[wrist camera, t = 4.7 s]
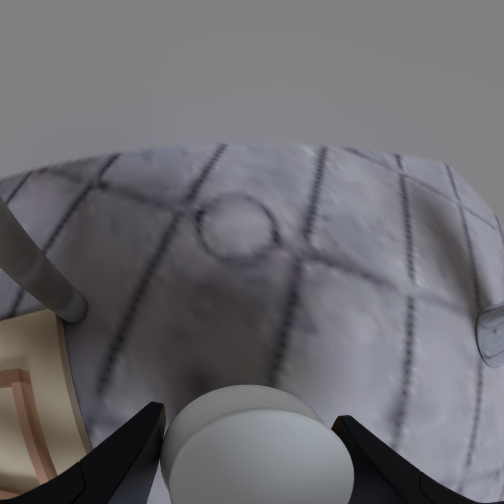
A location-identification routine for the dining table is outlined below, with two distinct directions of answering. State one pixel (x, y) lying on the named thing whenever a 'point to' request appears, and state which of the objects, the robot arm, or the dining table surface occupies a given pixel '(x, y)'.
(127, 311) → the dining table surface
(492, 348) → the beer glass
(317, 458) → the supplement bottle
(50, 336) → the wood and grey frame
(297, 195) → the dining table surface
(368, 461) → the robot arm
